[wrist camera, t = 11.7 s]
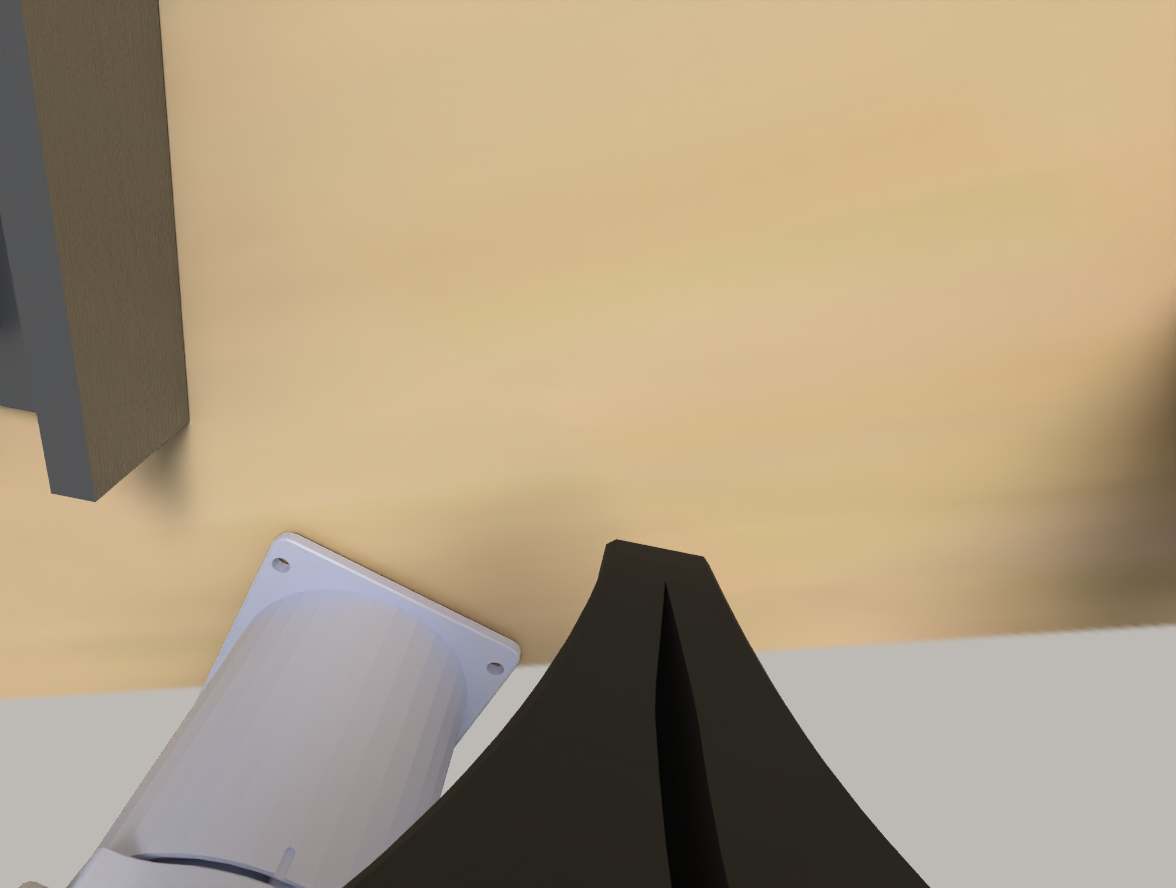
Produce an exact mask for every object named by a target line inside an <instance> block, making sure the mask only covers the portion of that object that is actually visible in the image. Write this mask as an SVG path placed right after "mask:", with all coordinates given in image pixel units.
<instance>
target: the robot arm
mask: <svg viewBox="0 0 1176 888" xmlns="http://www.w3.org/2000/svg"><path fill="white" fill-rule="evenodd" d="M279 558H282V559H285V560H286V561H287V562H288V563H289V564H285V563H283V562H281V561H280V560H279ZM520 656H521V649H520V647H519V646H518V644H517V643H515V642H514V641H513V640H511V639H509V638H507V637H505V636H502V635H500V634H498V633H496V632H494V631H492V630H490V629H488V628H486V627H484V626H482V625H480V624H478V623H476V622H474V621H472V620H470V619H468V618H466V617H464V616H462V615H460V614H458V613H456V612H454V611H452V610H450V609H448V608H446V607H444V606H442V605H440V604H438V603H436V602H434V601H431V600H429V599H427V598H425V597H423V596H421V595H419V594H417V593H415V592H413V591H411V590H409V589H407V588H405V587H403V586H401V585H399V584H397V583H395V582H393V581H391V580H389V579H387V578H385V577H383V576H381V575H379V574H377V573H375V572H373V571H371V570H369V569H367V568H365V567H363V566H361V565H358V564H356V563H354V562H352V561H350V560H348V559H346V558H344V557H342V556H340V555H338V554H336V553H334V552H332V551H330V550H328V549H326V548H324V547H322V546H320V545H318V544H316V543H314V542H312V541H310V540H308V539H306V538H304V537H302V536H300V535H298V534H295V533H291V532H284V533H282V534H279V535H278V536H277V537H276V539H275V540H274V541H273V543H272V544H271V546H270V548H269V550H268V552H267V554H266V556H265V558H264V560H263V563H262V565H261V567H260V569H259V571H258V573H257V575H256V577H255V579H254V581H253V583H252V586H251V588H250V590H249V592H248V594H247V596H246V598H245V600H244V602H243V604H242V606H241V609H240V611H239V613H238V615H237V617H236V619H235V621H234V623H233V625H232V627H231V630H230V632H229V634H228V636H227V638H226V640H225V642H224V644H223V646H222V648H221V650H220V653H219V655H218V657H217V659H216V661H215V663H214V665H213V667H212V669H211V671H210V673H209V676H208V678H207V680H206V682H205V684H204V686H203V688H202V690H201V692H200V695H199V697H198V699H197V701H196V703H195V704H194V706H193V707H192V709H191V711H190V712H189V713H188V715H187V716H186V718H185V719H184V721H183V722H182V724H181V725H180V727H179V728H178V730H177V731H176V732H175V734H174V735H173V737H172V739H171V740H170V741H169V743H168V744H167V746H166V747H165V749H164V750H163V752H162V753H161V755H160V756H159V758H158V759H157V761H156V762H155V764H154V765H153V767H152V768H151V769H150V771H149V772H148V774H147V776H146V777H145V778H144V780H143V781H142V783H141V784H140V786H139V787H138V789H137V790H136V792H135V793H134V795H133V796H132V798H131V799H130V801H129V802H128V804H127V805H126V806H125V808H124V809H123V811H122V812H121V814H120V815H119V817H118V818H117V820H116V821H115V823H114V824H113V826H112V827H111V829H110V830H109V832H108V833H107V835H106V836H105V837H104V839H103V841H102V842H101V843H100V845H99V846H98V848H97V849H96V851H95V852H94V854H93V855H92V857H91V858H90V859H89V860H88V862H87V863H86V864H85V865H84V866H83V868H82V869H81V870H80V871H79V873H78V874H77V875H76V876H75V878H74V879H73V880H72V881H71V882H70V884H69V885H68V886H67V887H66V888H930V887H929V886H928V885H927V884H926V883H925V882H924V880H923V879H922V878H921V877H920V876H919V875H918V874H917V873H916V871H915V870H914V869H913V868H912V867H911V866H910V865H909V864H908V863H907V862H906V860H905V859H904V858H903V857H902V856H901V855H900V854H899V853H898V851H897V850H896V849H895V848H894V847H893V846H892V845H891V844H890V843H889V842H888V840H887V839H886V838H885V837H884V836H883V835H882V833H881V832H880V831H879V830H878V829H877V827H876V826H875V825H874V824H873V823H872V822H871V820H870V819H869V818H868V817H867V816H866V815H865V813H864V812H863V811H862V810H861V809H860V807H859V806H858V805H857V803H856V802H855V801H854V800H853V798H852V797H851V796H850V794H849V793H848V792H847V790H846V789H845V788H844V787H843V785H842V784H841V783H840V781H839V780H838V779H837V778H836V776H835V775H834V774H833V772H832V771H831V770H830V768H829V767H828V766H827V765H826V763H825V762H824V761H823V759H822V758H821V756H820V755H819V754H818V752H817V751H816V749H815V748H814V746H813V745H812V744H811V742H810V741H809V740H808V738H807V736H806V735H805V733H804V732H803V731H802V729H801V728H800V726H799V724H798V723H797V721H796V720H795V718H794V717H793V715H792V714H791V712H790V711H789V709H788V708H787V706H786V705H785V703H784V701H783V700H782V698H781V696H780V695H779V693H778V692H777V690H776V688H775V687H774V685H773V684H772V682H771V680H770V678H769V677H768V675H767V673H766V672H765V670H764V668H763V666H762V665H761V663H760V661H759V660H758V658H757V656H756V654H755V653H754V651H753V649H752V647H751V646H750V644H749V642H748V640H747V638H746V637H745V635H744V633H743V631H742V629H741V627H740V625H739V624H738V622H737V620H736V618H735V616H734V614H733V612H732V610H731V608H730V606H729V604H728V602H727V600H726V598H725V596H724V594H723V592H722V590H721V588H720V586H719V584H718V582H717V580H716V578H715V576H714V574H713V572H712V570H711V568H710V566H709V564H708V562H707V561H706V559H705V558H704V557H703V556H697V555H692V554H687V553H682V552H677V551H672V550H667V549H662V548H657V547H652V546H647V545H642V544H637V543H632V542H627V541H622V540H617V539H616V540H614V541H612V542H610V543H608V544H606V547H605V551H604V556H603V560H602V564H601V568H600V572H599V576H598V580H597V582H596V585H595V587H594V589H593V591H592V594H591V596H590V598H589V600H588V602H587V604H586V606H585V608H584V610H583V611H582V613H581V615H580V617H579V619H578V621H577V623H576V624H575V626H574V628H573V630H572V632H571V634H570V635H569V637H568V639H567V640H566V642H565V643H564V645H563V646H562V648H561V649H560V651H559V653H558V654H557V656H556V657H555V659H554V660H553V662H552V663H551V665H550V666H549V668H548V669H547V671H546V672H545V674H544V676H543V677H542V678H541V680H540V681H539V683H538V684H537V685H536V687H535V688H534V690H533V691H532V692H531V694H530V695H529V697H528V698H527V699H526V700H525V702H524V703H523V704H522V706H521V707H520V709H519V710H518V711H517V712H516V713H515V715H514V716H513V717H512V718H511V720H510V721H509V722H508V723H507V725H506V726H505V727H504V728H503V730H502V731H501V732H500V733H499V735H498V736H497V737H496V738H495V739H494V740H493V741H492V742H491V744H490V745H489V746H488V747H487V748H486V749H485V751H484V752H483V753H482V754H481V755H480V756H479V757H478V758H477V760H476V761H475V762H474V763H473V764H472V765H471V766H470V767H469V768H468V770H467V771H466V772H465V773H464V774H463V775H462V776H461V777H460V778H459V779H458V780H457V781H456V782H455V784H454V785H453V786H452V787H451V788H450V789H449V790H448V791H447V792H446V793H445V794H444V795H443V796H442V797H441V798H440V795H441V791H442V788H443V785H444V781H445V778H446V774H447V770H448V767H449V763H450V760H451V756H452V753H453V749H454V747H455V746H456V745H457V743H458V742H459V741H460V740H461V738H462V737H463V735H464V734H465V733H466V732H467V730H468V729H469V728H470V726H471V725H472V724H473V723H474V721H475V720H476V718H477V717H478V716H479V715H480V713H481V712H482V711H483V709H484V708H485V707H486V706H487V704H488V703H489V702H490V700H491V699H492V698H493V696H494V695H495V694H496V692H497V691H498V690H499V689H500V687H501V686H502V685H503V683H504V682H505V681H506V679H507V678H508V677H509V675H510V674H511V673H512V672H513V670H514V669H515V668H516V666H517V665H518V663H519V660H520ZM494 662H495V663H499V664H501V665H502V666H496V665H493V664H492V663H494ZM19 888H47V887H46V886H43V885H41V884H39V883H37V882H32V881H29V882H26V883H23V884H22V885H21V886H20V887H19Z"/></svg>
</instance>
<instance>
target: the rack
mask: <svg viewBox="0 0 1176 888" xmlns="http://www.w3.org/2000/svg"><path fill="white" fill-rule="evenodd" d="M0 405H1V406H6V407H11V408H16V409H21V410H26V411H31V412H36V413H37V417H38V423H39V428H40V434H41V439H42V445H43V450H44V456H45V461H46V467H47V472H48V478H49V483H50V489H51V493H52V494H58V495H63V496H68V497H73V498H78V499H83V500H88V501H93V502H96V501H97V500H98V499H100V498H101V497H102V496H103V495H104V494H105V493H107V492H108V491H109V490H110V489H111V488H112V487H114V486H115V485H116V484H117V483H118V482H119V481H121V480H122V479H123V478H124V477H125V476H126V475H128V474H129V473H130V472H131V471H132V470H133V469H135V468H136V467H137V466H138V465H139V464H140V463H142V462H143V461H144V460H145V459H146V458H147V457H149V456H150V455H151V454H152V453H153V452H154V451H155V450H157V449H158V448H159V447H160V446H161V445H162V444H164V443H165V442H166V441H167V440H168V439H169V438H171V437H172V436H173V435H174V434H175V433H176V432H178V431H179V430H180V429H181V428H182V427H183V426H185V425H186V424H187V423H188V422H189V412H188V399H187V385H186V372H185V359H184V346H183V332H182V319H181V306H180V292H179V279H178V266H177V252H176V239H175V226H174V212H173V199H172V186H171V172H170V159H169V146H168V132H167V119H166V106H165V92H164V79H163V66H162V52H161V39H160V26H159V13H158V0H0Z"/></svg>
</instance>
